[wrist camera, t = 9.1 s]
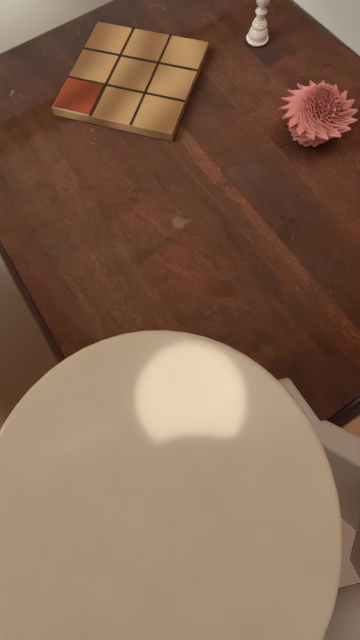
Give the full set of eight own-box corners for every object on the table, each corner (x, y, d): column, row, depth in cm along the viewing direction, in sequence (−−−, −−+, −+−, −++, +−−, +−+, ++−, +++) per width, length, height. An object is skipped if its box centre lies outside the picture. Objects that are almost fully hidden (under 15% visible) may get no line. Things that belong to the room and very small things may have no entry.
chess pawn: (260, 50, 38) (270, -1, 33) (241, 42, 38) (249, -10, 33) (272, 37, 38) (284, -15, 33) (253, 29, 39) (262, -24, 34)
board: (55, 115, 36) (50, 106, 35) (100, 30, 40) (97, 20, 39) (172, 142, 34) (171, 133, 33) (208, 51, 38) (208, 40, 37)
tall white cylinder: (128, 454, 14) (-109, 660, 3) (155, 374, 15) (58, 290, 4) (208, 482, 14) (303, 857, 2) (230, 398, 15) (372, 385, 3)
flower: (353, 157, 33) (384, 109, 28) (285, 175, 33) (303, 130, 27) (324, 104, 35) (348, 51, 30) (260, 121, 35) (272, 70, 29)
